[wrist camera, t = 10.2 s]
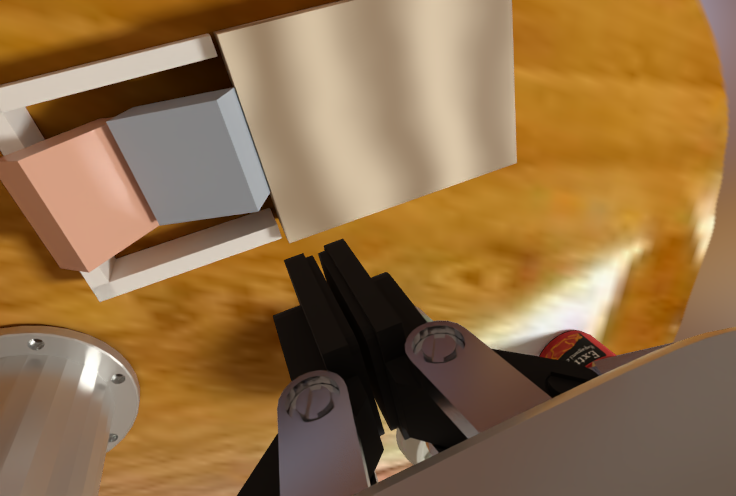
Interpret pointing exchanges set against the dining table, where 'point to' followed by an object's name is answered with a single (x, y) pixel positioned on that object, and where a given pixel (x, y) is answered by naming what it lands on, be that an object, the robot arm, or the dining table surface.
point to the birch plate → (374, 102)
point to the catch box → (118, 276)
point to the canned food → (576, 348)
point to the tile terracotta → (79, 195)
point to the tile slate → (193, 157)
